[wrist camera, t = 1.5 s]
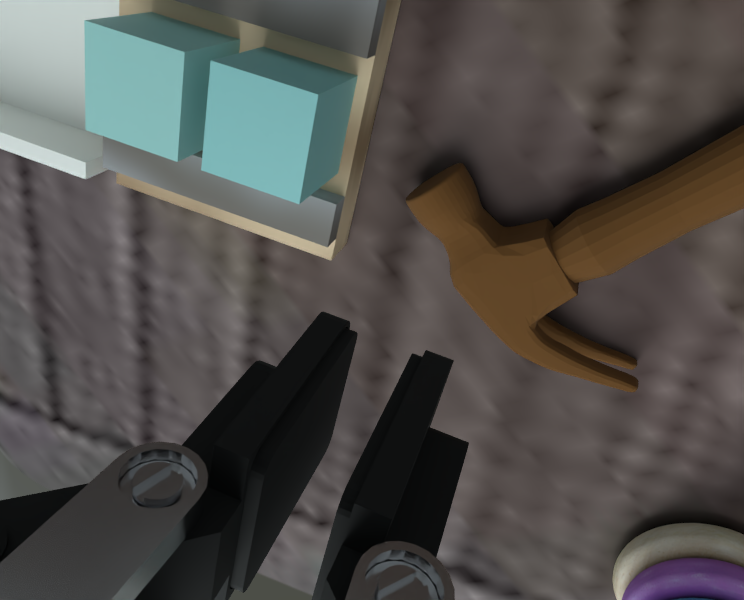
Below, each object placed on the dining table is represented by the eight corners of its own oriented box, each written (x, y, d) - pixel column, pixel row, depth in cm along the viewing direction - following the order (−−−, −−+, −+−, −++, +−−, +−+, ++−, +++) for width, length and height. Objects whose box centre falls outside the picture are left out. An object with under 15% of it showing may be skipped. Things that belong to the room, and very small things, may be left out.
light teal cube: (151, 11, 26) (84, 20, 23) (240, 39, 26) (184, 52, 22) (147, 109, 28) (85, 130, 25) (229, 136, 28) (177, 161, 24)
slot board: (152, -108, 26) (103, -114, 24) (409, -37, 24) (386, -36, 22) (142, 171, 32) (102, 189, 30) (346, 243, 31) (322, 269, 28)
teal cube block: (263, 46, 26) (210, 60, 22) (357, 75, 25) (318, 94, 22) (251, 144, 28) (201, 170, 24) (338, 173, 27) (299, 204, 24)
